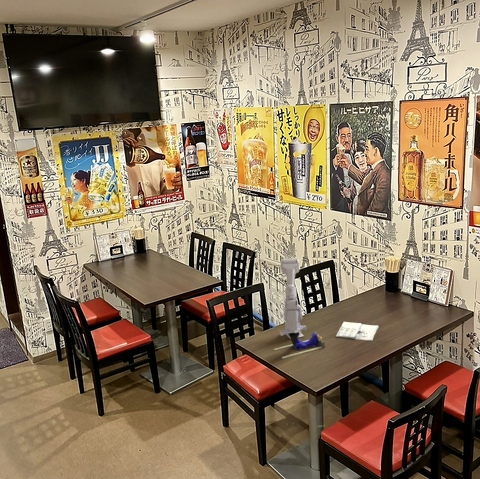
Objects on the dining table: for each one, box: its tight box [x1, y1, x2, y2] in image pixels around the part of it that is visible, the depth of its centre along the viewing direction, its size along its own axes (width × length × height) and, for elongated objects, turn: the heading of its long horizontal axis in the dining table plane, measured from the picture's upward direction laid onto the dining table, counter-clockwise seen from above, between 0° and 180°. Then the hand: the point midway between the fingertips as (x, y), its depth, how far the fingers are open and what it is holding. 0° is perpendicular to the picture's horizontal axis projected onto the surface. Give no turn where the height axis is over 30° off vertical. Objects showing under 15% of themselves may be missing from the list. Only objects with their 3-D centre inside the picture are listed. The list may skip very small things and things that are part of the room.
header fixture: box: [273, 332, 326, 360], centre depth 260 cm, size 11×24×5 cm, turn 110°
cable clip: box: [293, 332, 318, 350], centre depth 262 cm, size 12×4×6 cm, turn 95°
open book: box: [335, 321, 380, 342], centre depth 273 cm, size 19×20×2 cm
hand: (294, 344), depth 259 cm, fingers closed, pressing on cable clip
